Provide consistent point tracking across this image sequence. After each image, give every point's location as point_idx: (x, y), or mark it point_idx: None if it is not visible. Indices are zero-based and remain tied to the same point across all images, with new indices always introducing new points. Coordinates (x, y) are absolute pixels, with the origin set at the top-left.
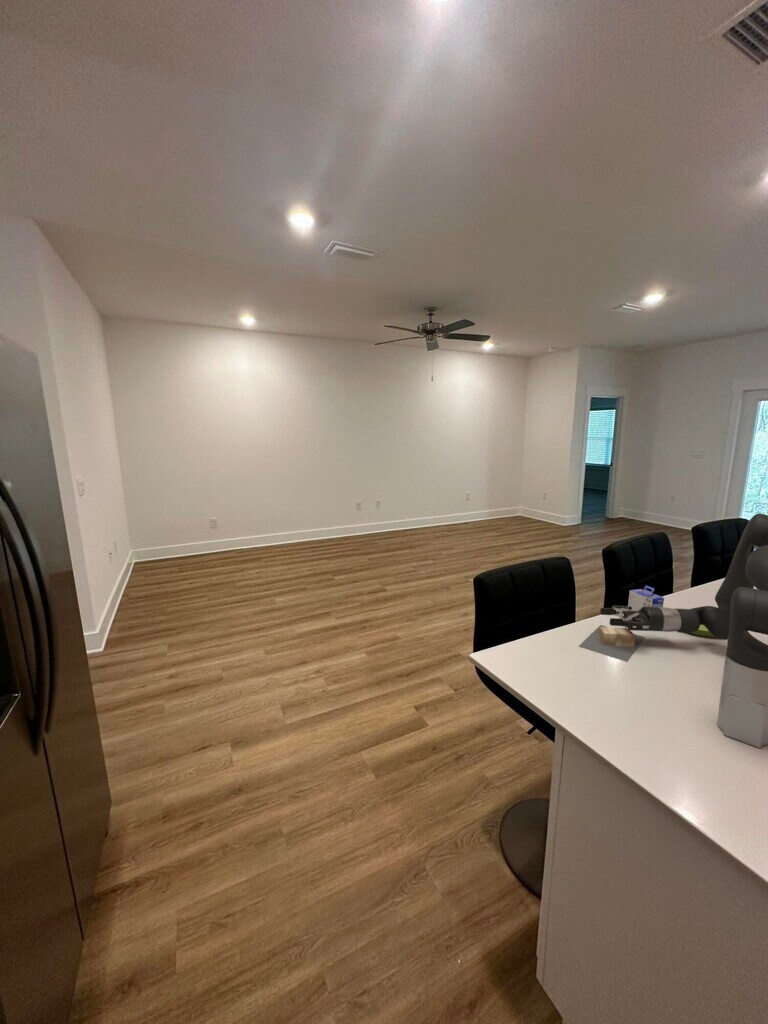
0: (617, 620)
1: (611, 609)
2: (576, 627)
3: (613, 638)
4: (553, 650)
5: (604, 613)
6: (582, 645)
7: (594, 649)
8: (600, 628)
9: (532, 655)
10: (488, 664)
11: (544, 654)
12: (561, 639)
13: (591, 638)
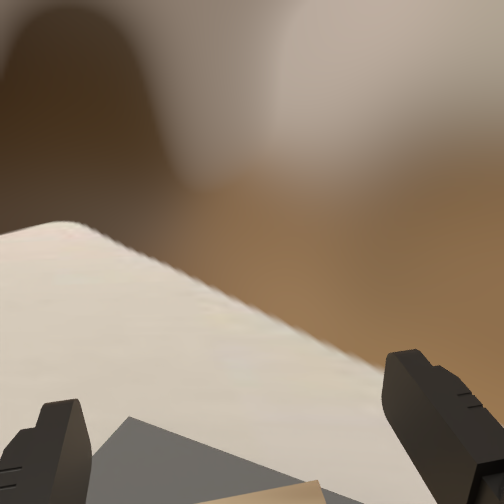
0: (24, 479)
1: (458, 449)
2: None
3: None
4: (98, 339)
5: (401, 426)
6: (143, 436)
7: (88, 501)
8: (277, 489)
9: (55, 293)
10: (10, 235)
11: (61, 317)
12: (229, 364)
13: None
